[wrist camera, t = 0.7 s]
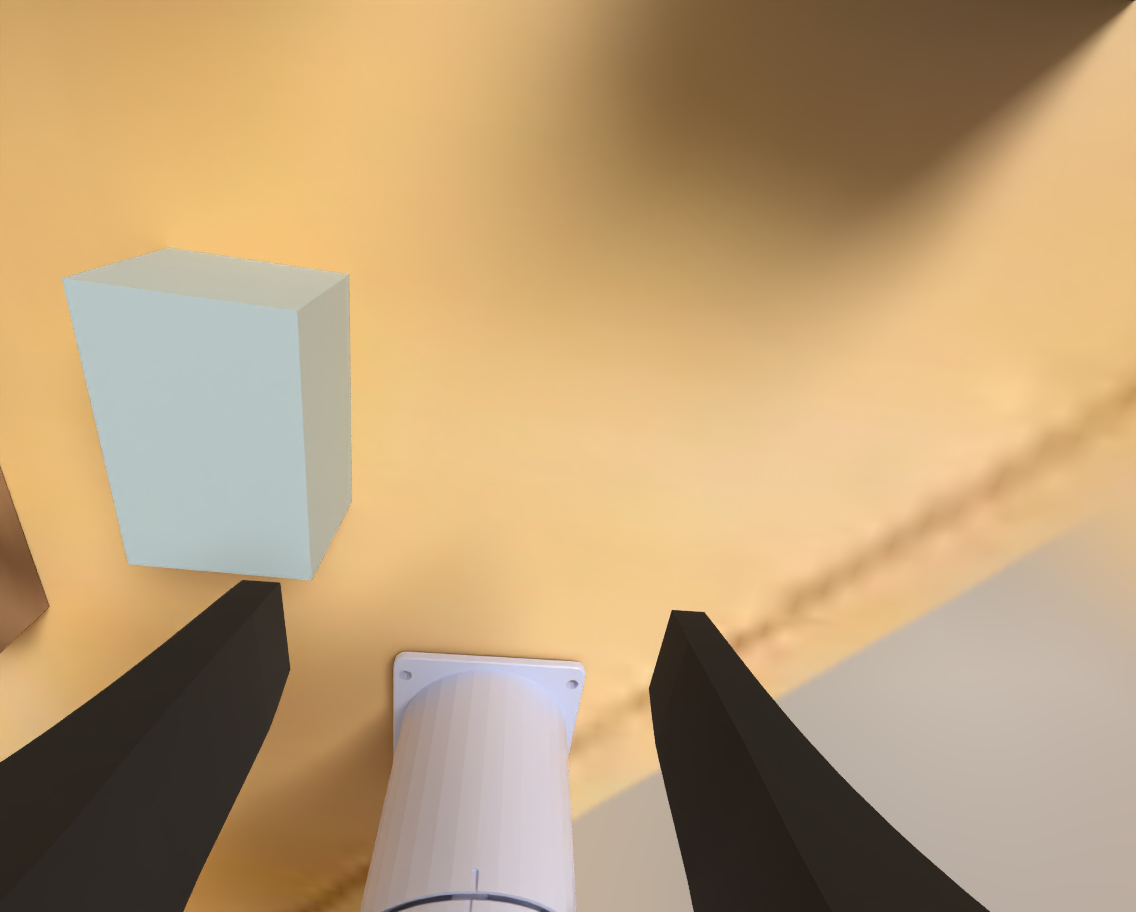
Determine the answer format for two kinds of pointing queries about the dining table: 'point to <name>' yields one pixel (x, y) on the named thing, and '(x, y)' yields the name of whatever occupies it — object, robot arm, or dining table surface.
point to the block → (220, 407)
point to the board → (16, 575)
